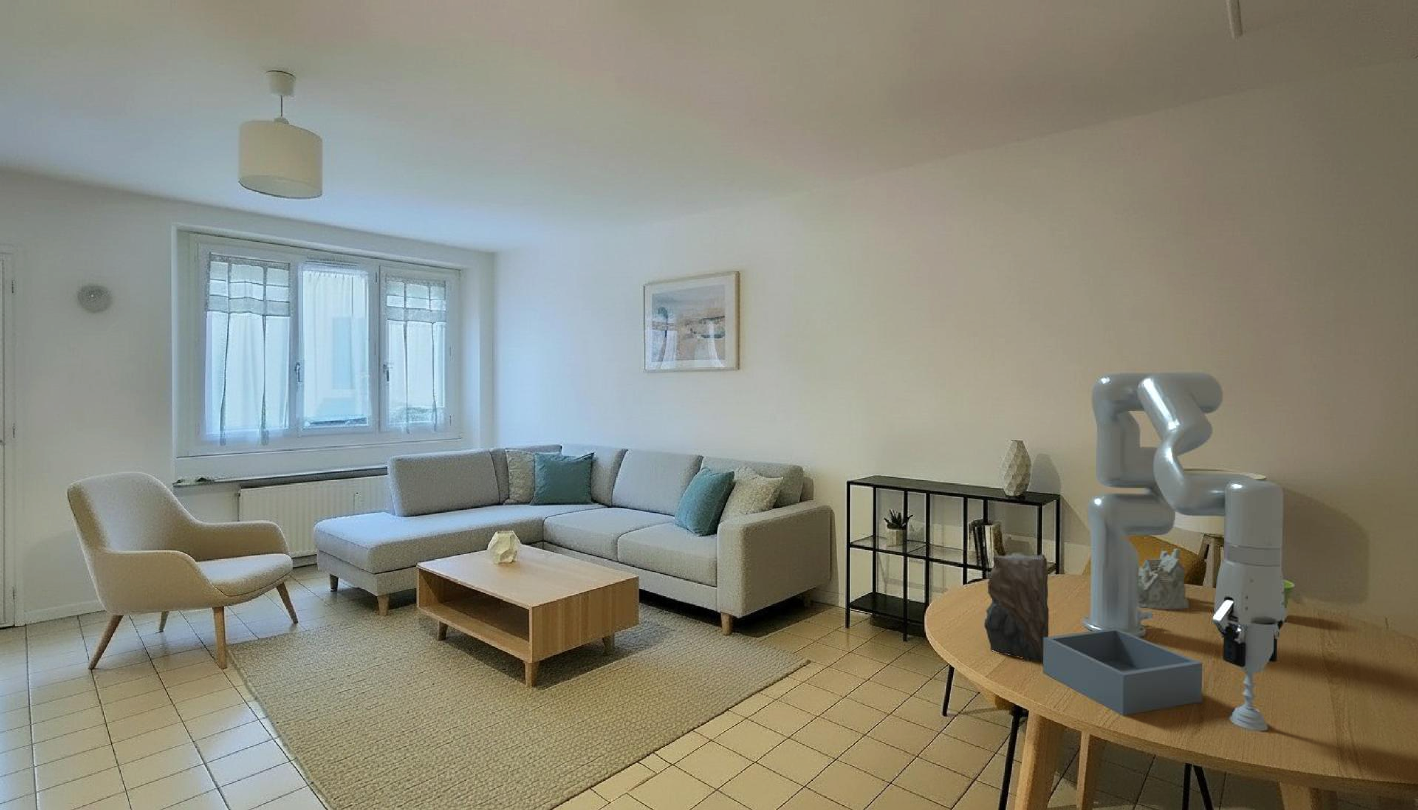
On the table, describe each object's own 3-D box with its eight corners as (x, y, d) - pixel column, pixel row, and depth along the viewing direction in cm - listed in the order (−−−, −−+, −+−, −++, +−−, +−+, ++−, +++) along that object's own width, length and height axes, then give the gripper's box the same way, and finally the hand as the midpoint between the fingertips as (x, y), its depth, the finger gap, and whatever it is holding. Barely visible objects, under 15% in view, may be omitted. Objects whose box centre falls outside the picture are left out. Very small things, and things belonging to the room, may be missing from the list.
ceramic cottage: (1170, 591, 185) (1168, 537, 184) (1200, 613, 169) (1198, 554, 168) (1107, 591, 188) (1105, 538, 187) (1131, 613, 172) (1128, 555, 171)
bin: (1114, 661, 138) (1115, 628, 138) (1201, 701, 121) (1202, 662, 120) (1043, 672, 133) (1043, 637, 133) (1122, 715, 115) (1123, 675, 115)
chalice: (1211, 713, 116) (1213, 610, 116) (1247, 711, 117) (1250, 609, 116) (1248, 735, 109) (1251, 625, 108) (1287, 733, 110) (1290, 623, 109)
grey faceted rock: (982, 650, 144) (983, 557, 143) (996, 632, 154) (997, 546, 154) (1048, 664, 137) (1049, 566, 136) (1057, 645, 147) (1058, 554, 146)
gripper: (1265, 546, 118) (1263, 647, 119) (1191, 553, 113) (1189, 658, 114) (1314, 556, 111) (1311, 664, 111) (1237, 564, 106) (1234, 676, 107)
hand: (1249, 660), depth 113 cm, fingers open, 6 cm apart
